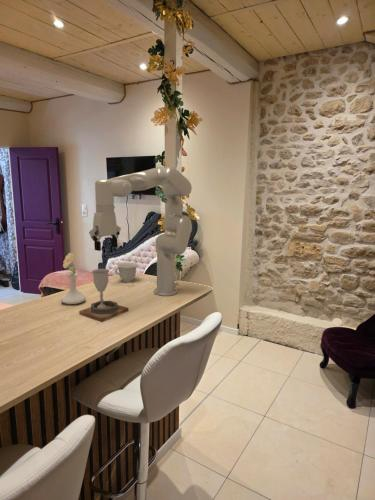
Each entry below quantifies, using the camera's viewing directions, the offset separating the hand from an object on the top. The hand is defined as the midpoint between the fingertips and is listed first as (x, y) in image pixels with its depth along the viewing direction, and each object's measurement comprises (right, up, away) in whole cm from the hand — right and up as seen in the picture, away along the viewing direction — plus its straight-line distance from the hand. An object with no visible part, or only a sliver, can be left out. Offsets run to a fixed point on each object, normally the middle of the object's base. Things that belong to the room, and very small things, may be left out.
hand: (106, 248), depth 145 cm
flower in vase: (-19, -26, +15) cm, 35 cm away
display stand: (-2, -29, +3) cm, 29 cm away
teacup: (-1, -20, +52) cm, 56 cm away
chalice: (-2, -27, +2) cm, 28 cm away
